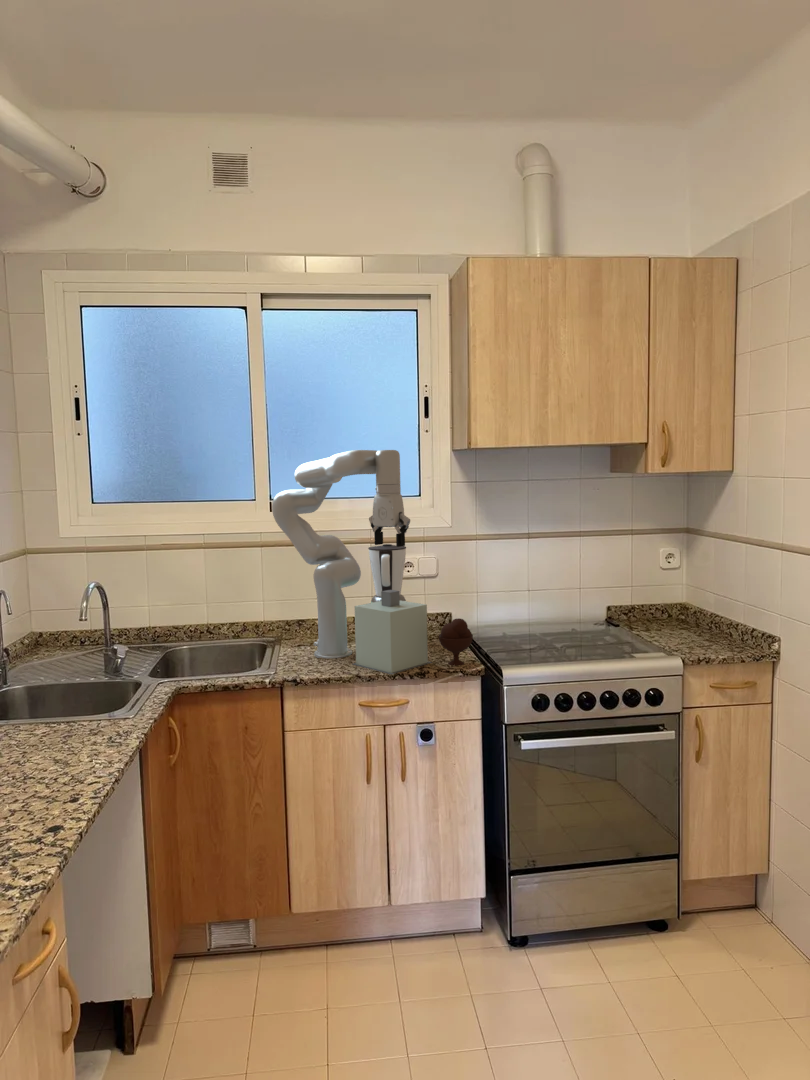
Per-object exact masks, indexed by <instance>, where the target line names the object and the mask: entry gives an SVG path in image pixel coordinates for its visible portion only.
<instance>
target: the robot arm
mask: <svg viewBox="0 0 810 1080" xmlns="http://www.w3.org/2000/svg"><path fill="white" fill-rule="evenodd" d="M355 475H375V491H376V492H375V493H376V494H375V495H374V496H373V503H372V515H371V516H370V517H369V518H368V522H369V525H370V527H371V529H372V532H373V533H374V537H373V538H374V546H382V545H383V544H384V531H382V530H383V529H384V528H394V530H395V531H396V535H395V538H396V539H395V542H396V543H395V545H396V546H397V547H401V546H405V547H406V534H407V532H408V531H407V530H408V529H409V527H410V526H409V525H410V523H411V519H410V517H408V516H407V515H405V508H404V500H403V495H402V494H401V492H402V491H401V490H402V489H401V454H400V452H399V450H396V449H380V450H374V449H372V450H371V449H353V450H347V451H343V452H340V453H334V454H333V455H331V456H330V457H324V458H321V459H318V460H312V461H308V462H305V463H302V464H300V465H299V466H298V467H297V468H296V469H295V471H294V479H295V482H296V483H297V485H299V486H300V487H302V488H303V489H302V488H301V489H286V490H283V491H280V492H278V493H276V495H275V496H274V497H273V500H272V502H271V503H272V504H271V505H272V506H271V511H272V515H273V519H274V521H275V523H276V524H277V526H278V527H279V528H280V529H281V530H282V532H283V533H284V534H285V535H286V537H287V538H288V539H289V540H290V542H291V543H292V545H293V546H294V548H295V549H296V551H297V553H298V554H299V555H300V556H301V558H302V559H303V560H304V561H305V562H306V563H307V564H308V565H311V566H312V565H314V566H316V565H317V566H316V567H315V569H314V572H313V583H314V588H315V592H316V601H317V602H316V603H317V627H318V629H317V631H318V632H317V633H318V639H317V640H316V641H314V642H313V646H315V647H317V649H316V650H315V651H314V653H313V654H314V657H315V658H317V659H320V658H321V659H340V658H346V657H349V656H351V655H352V654H353V650H352V649H351V648H348V623H347V622H348V621H347V601H346V596H345V594H344V593H343V589H342V588H347V587H351V586H355V584H358V583H359V581H360V580H361V576H362V572H361V567H360V565H359V563H358V562H357V560H356V559H355V557H354V556H353V554H352V553H351V552H350V550H349V549H348V547H347V546H346V545H345V544H344V542H343V541H342V540H341V539H340V538H338V537H337V536H335V535H332V534H326V535H320V534H318V533H317V532H316V531H315V530H314V529H313V527H312V525H311V524H310V523H309V522H308V521H306V519H304V518H302V517H301V516H300V515H303V514H304V515H305V514H312V513H315V512H316V511H317V510H318V509H320V507H321V505H322V504H323V502H324V500H325V499H326V496H327V495H328V493H329V492H330V490H331V488H332V486H333V484H336V483H339V482H340V481H341V480H343V479H342V478H344V477H350V476H355Z"/></svg>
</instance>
